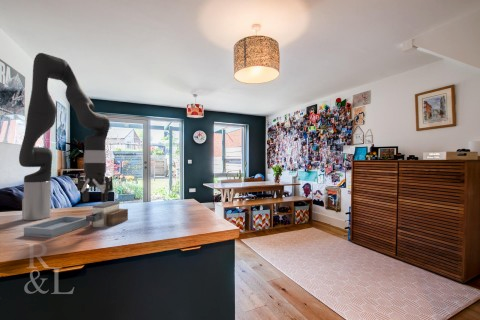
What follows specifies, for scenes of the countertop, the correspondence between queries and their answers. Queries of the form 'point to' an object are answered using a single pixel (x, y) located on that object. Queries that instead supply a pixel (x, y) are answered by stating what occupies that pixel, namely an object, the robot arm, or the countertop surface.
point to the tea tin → (102, 213)
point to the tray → (56, 226)
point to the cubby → (117, 217)
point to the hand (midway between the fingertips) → (95, 201)
